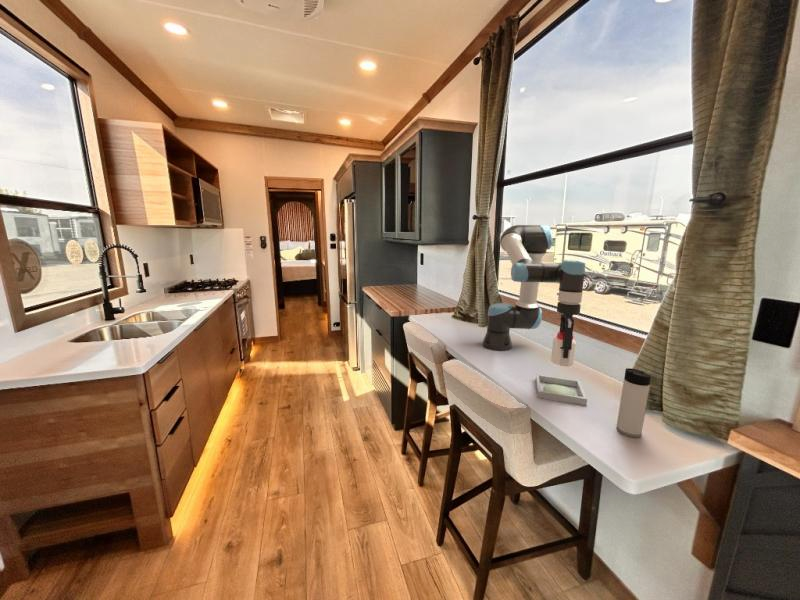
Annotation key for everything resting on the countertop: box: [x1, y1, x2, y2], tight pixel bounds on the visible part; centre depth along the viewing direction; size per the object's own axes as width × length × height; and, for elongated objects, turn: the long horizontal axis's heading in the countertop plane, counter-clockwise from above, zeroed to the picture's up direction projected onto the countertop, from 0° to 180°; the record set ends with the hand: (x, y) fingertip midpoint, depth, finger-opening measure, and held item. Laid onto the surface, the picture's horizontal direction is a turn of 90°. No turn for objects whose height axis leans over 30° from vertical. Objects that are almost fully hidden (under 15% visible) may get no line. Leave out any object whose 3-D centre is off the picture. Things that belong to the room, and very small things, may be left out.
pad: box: [542, 383, 576, 396], centre depth 122 cm, size 11×11×1 cm
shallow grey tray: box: [535, 374, 588, 406], centre depth 122 cm, size 16×16×2 cm
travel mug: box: [616, 367, 652, 438], centre depth 95 cm, size 6×7×20 cm
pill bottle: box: [550, 332, 577, 367], centre depth 119 cm, size 8×8×11 cm
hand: (562, 361), depth 120 cm, fingers closed on pill bottle, 8 cm apart
